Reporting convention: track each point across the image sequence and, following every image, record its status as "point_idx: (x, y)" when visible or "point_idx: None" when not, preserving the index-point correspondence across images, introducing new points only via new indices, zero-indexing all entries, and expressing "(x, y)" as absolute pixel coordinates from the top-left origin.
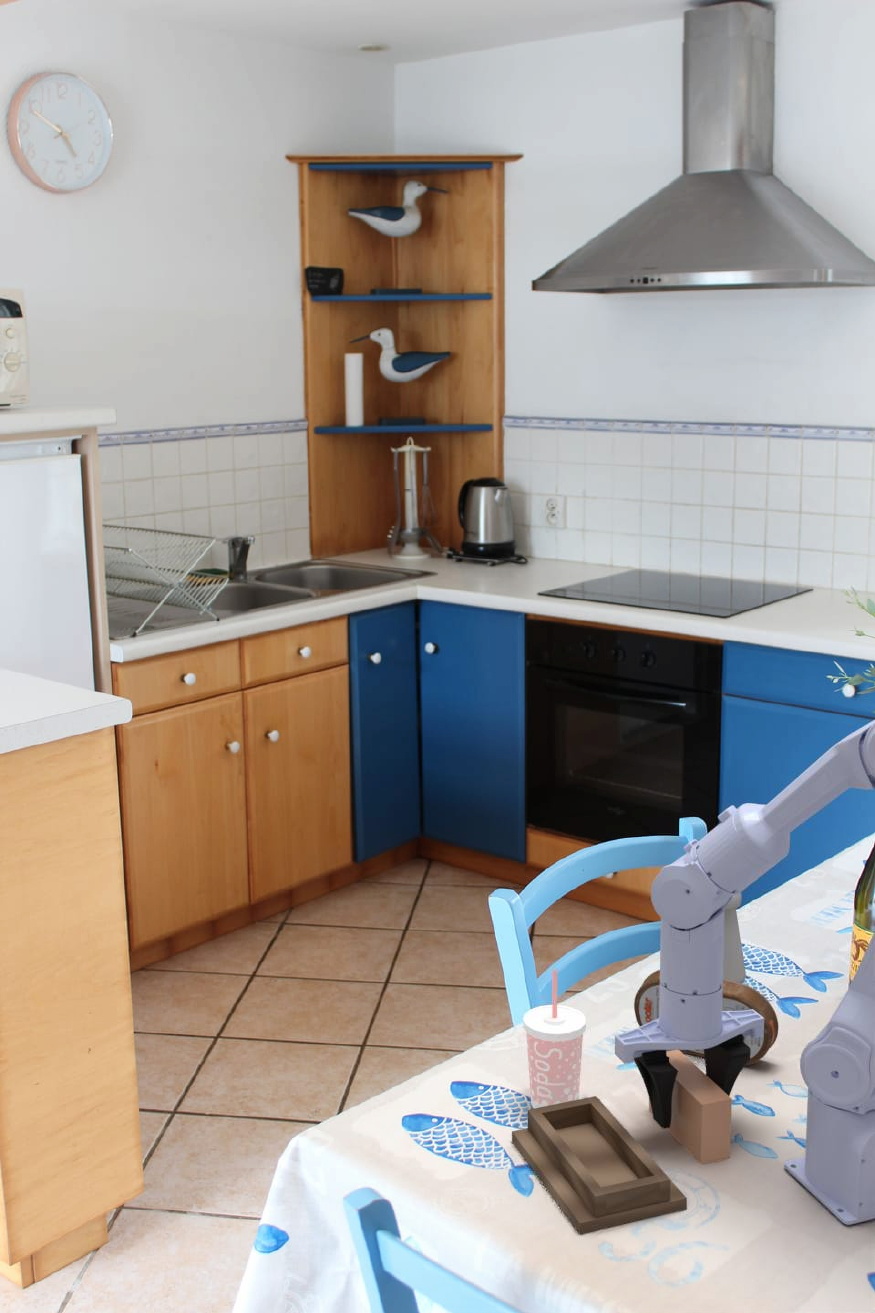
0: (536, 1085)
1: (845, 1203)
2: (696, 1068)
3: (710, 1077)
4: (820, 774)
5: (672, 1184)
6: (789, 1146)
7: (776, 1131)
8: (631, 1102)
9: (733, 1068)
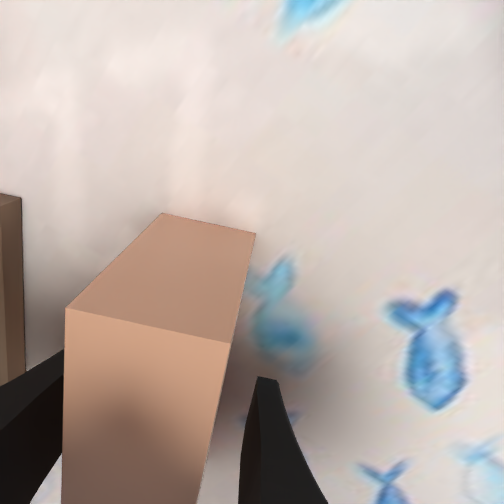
0: None
1: None
2: (187, 495)
3: (254, 470)
4: None
5: None
6: (351, 495)
7: (378, 451)
8: (138, 147)
9: None
